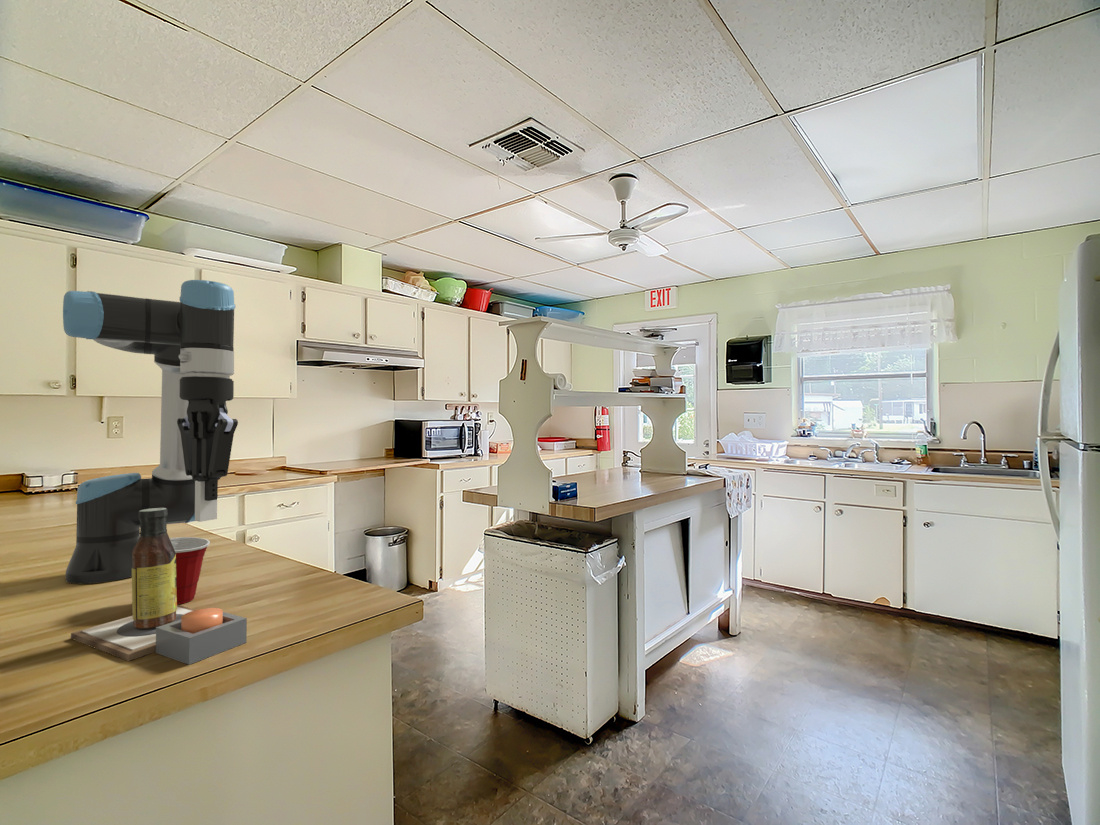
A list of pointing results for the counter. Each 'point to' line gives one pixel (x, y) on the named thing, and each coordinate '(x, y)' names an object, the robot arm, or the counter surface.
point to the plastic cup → (188, 565)
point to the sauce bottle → (153, 572)
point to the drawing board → (123, 637)
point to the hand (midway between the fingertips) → (205, 519)
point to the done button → (201, 619)
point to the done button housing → (200, 639)
